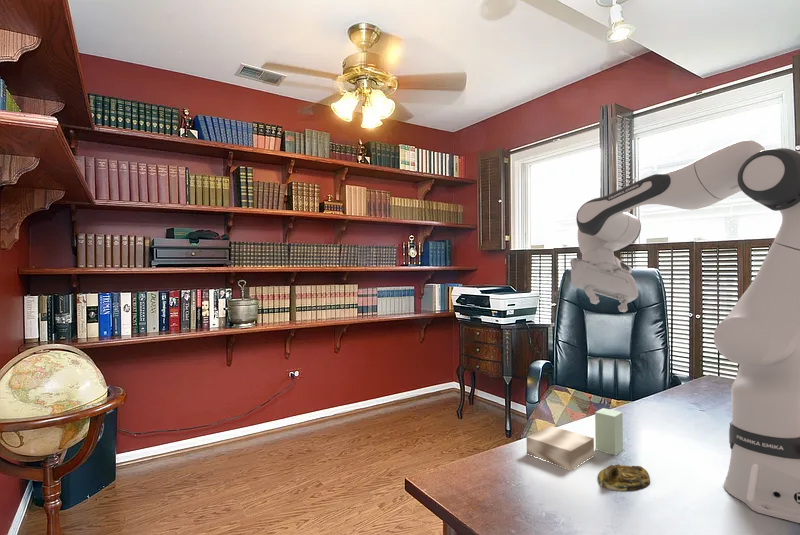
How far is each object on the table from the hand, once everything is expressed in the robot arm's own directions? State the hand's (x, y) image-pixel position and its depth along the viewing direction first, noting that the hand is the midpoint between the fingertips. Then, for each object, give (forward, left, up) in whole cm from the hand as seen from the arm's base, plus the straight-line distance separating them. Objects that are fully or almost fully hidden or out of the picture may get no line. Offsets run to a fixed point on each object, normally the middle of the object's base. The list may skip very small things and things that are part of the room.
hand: (609, 307), depth 115 cm
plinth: (+7, +16, -38) cm, 42 cm away
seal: (-9, +17, -38) cm, 43 cm away
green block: (0, +3, -38) cm, 38 cm away
